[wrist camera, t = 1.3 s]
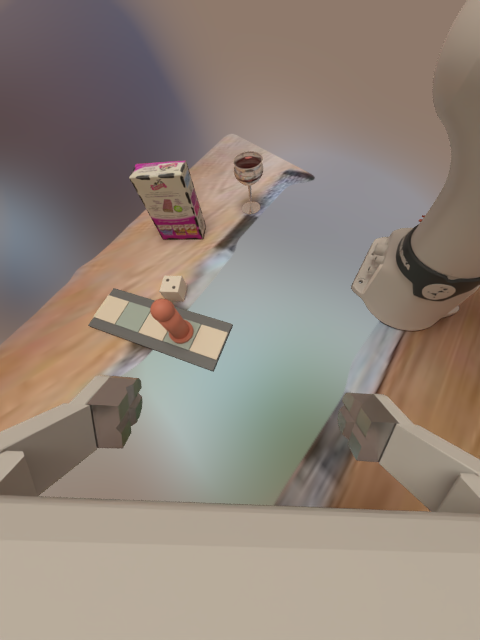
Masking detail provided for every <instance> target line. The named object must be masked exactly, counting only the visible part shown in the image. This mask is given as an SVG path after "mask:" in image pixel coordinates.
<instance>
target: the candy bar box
mask: <svg viewBox="0 0 480 640" xmlns="http://www.w3.org/2000/svg"><path fill="white" fill-rule="evenodd" d="M130 180H131V182H132V184H133V185H134V187H135V189H136V191H137V193H138V195H139V196H140V198H141V200H142V202H143V204H144V205H145V207H146V209H147V211H148V213H149V215H150V216H151V218H152V220H153V222H154V224H155V226H156V227H157V229H158V231H159V233H160V235H161V237H162V238H163V239H203V236H204V232H205V227H206V225H205V221H204V218H203V215H202V211H201V208H200V205H199V202H198V199H197V195H196V192H195V189H194V185H193V182H192V179H191V176H190V172H189V169H188V166H187V163H186V161H173V162H158V163H145V164H136V165H135V167H134V169H133V172H132V173H131V176H130Z"/></svg>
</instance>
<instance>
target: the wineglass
mask: <svg viewBox="0 0 480 640" xmlns="http://www.w3.org/2000/svg"><path fill="white" fill-rule="evenodd" d="M262 161H263V157H262V155H261V154H259V153H257V152H254V151H248V152H243V153H240V154H239V155H237V156H236V157H235V158H234V160H233V164H234V174H235V177H236V179H237V180H238V181H239V182H240V183H242V184H243V185H246V186H248V190H249V199H250V201H249V202H246V203H245V204H244V205H243V206H242V210H243V212H244V213H247V214H254V213H256V212H258V211H259V210H260V204H259V203H257V202H255V201H251V185H253V184H255V183H256V182H257V181H259V179H260V178H261V176H262V173H263V164H262Z"/></svg>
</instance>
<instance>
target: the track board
mask: <svg viewBox="0 0 480 640" xmlns="http://www.w3.org/2000/svg"><path fill="white" fill-rule="evenodd" d="M153 302H154V300H151V299H148V298H144V297H141V296H138V295H135V294H131V293H128V292H125V291H121V290H118V289H115V288H114V289H113V290H112V292H111V293H110V295H108V296H107V298H106V299H105V301H104V302H103V303H102V305H101V306H100V308H99V309H98V311H97V312H96V314H95V315H94V316H93V317H94V318H93V319H92V321H91V322H90V324H89V325H88V326H90V327H93V328H95V329H98V330H101V331H104V332H106V333H109V334H112V335H115V336H117V337H120V338H123V339H126V340H128V341H131V342H134V343H137V344H139V345H142V346H145V347H147V348H150V349H153V350H156V351H159V352H161V353H164V354H167V355H169V356H172V357H175V358H178V359H180V360H183V361H186V362H188V363H191V364H194V365H197V366H199V367H202V368H205V369H208V370H210V371H214V369H215V367H216V365H217V362H218V360H219V357H220V354H221V353H222V350H223V348H224V345H225V343H226V341H227V338H228V336H229V333H230V331H231V329H232V326H233V325H232V324H230V323H227V322H223V321H220V320H217V319H213V318H210V317H207V316H204V315H200V314H197V313H194V312H190V311H187V310H184V309H181V308H177V307H175V309H176V310H177V311H178V313H179V314H180V315H181V317H182V318H183V319H184V320H187V321H188V322H190V324H191V325H192V326H193V329H194V333H193V336H192V338H191V339H190V340H189V341H188V342H186V343H183V344H178V343H175V342H174V341H173V340H172V339H171V338H170V337H169V332H168V331H167V330H166V329H165V328H164V327H163V326H162V325H161V324H160V323H159V322H158V321H157V320H155V319H154V318H153V317H152V315H151V312H150V308H151V305H152V303H153Z"/></svg>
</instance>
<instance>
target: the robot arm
mask: <svg viewBox="0 0 480 640" xmlns="http://www.w3.org/2000/svg"><path fill="white" fill-rule="evenodd" d="M433 103H434V107H435V110H436V113H437V116H438V117H439V119H440V120H441V122H442V123H443V125H444V127H445V129H446V131H447V134H448V137H449V141H450V146H451V165H450V170H449V174H448V177H447V180H446V183H445V185H444V187H443V189H442V191H441V192H440V194H439V196H438V197H437V199H436V201H435V202H434V204H433V205H432V207H431V208H430V210H429V211H428V213H427V214H426V215H425V216H423V215H422V217H424V218H423V219H420V220H419V222H420V224H419V225H417V226H416V227H414V228H402V229H398V230H395V231H393V232H392V234H391V235H390V236H389V237H382V238H378V239H376V240H374V242H373V243H372V245H371V247H370V249H369V251H368V253H367V255H366V257H365V259H364V261H363V263H362V265H361V267H360V269H359V272H358V274H357V275H356V278H355V279H354V282H353V283H352V286H351V289H352V290H353V292H354V293H356V294H357V295H358V296H359V297H360V298H362V300H363V301H364V303H365V305H366V307H367V308H368V310H369V311H370V312H371V313H372V314H373V315H374V316H375V317H376V318H377V319H378V320H380V321H381V322H383V323H385V324H387V325H389V326H391V327H394V328H397V329H401V330H407V331H417V330H422V329H426V328H428V327H430V326H432V325H433V324H435V323H436V322H437V321H438V320H439V319H441V318H443V317H447V316H451V315H453V314H455V313H456V312H457V311H458V310H459V304H461V303H462V302H463V301H464V300H465V299H467V298H468V297H469V296H470V295H472V294H473V293H474V292H475V291H476V290H477V289H478V288H479V287H480V0H467V1H466V3H465V4H464V6H463V7H462V9H461V10H460V12H459V14H458V15H457V17H456V19H455V21H454V23H453V25H452V26H451V28H450V30H449V32H448V35H447V37H446V39H445V41H444V43H443V46H442V48H441V51H440V54H439V57H438V60H437V64H436V68H435V72H434V78H433ZM359 282H361V283H359ZM140 389H141V380H140V379H139V378H130V377H119V376H106V375H98V376H96V377H94V378H93V379H92V380H91V381H90V383H89V384H88V385H87V386H86V387H85V388H84V389H83V390H82V391H81V392H80V393H79V394H78V395H77V396H76V397H75V398H74V399H73V400H72V401H71V402H70V403H69V404H62V405H59V406H57V407H55V408H53V409H50V410H48V411H46V412H44V413H42V414H39V415H37V416H35V417H33V418H30V419H28V420H26V421H24V422H21V423H19V424H17V425H15V426H13V427H10V428H8V429H6V430H4V431H1V432H0V640H480V460H479V459H478V458H476V457H474V456H472V455H470V454H469V453H467V452H465V451H463V450H462V449H460V448H458V447H456V446H455V445H453V444H451V443H449V442H447V441H446V440H444V439H442V438H440V437H439V436H437V435H435V434H433V433H431V432H430V431H428V430H426V429H424V428H423V427H421V426H419V425H414V424H413V423H412V422H411V421H410V420H409V419H408V418H407V417H406V415H405V414H404V413H403V412H402V411H401V410H400V409H399V408H398V407H397V406H396V405H395V404H394V403H393V402H392V401H391V400H390V399H389V398H388V397H387V396H386V395H384V394H360V393H346V394H345V395H344V397H343V400H342V401H343V403H344V406H343V407H342V408H341V409H340V410H339V413H338V426H339V429H340V431H341V433H342V435H344V436H345V437H346V438H347V439H349V441H348V446H349V448H350V450H351V451H352V453H353V455H354V457H355V459H356V460H357V461H369V462H379V464H380V465H381V466H382V467H383V468H385V469H386V470H387V471H388V472H389V473H390V474H391V475H392V476H393V477H394V478H395V479H397V480H398V481H399V482H400V483H401V484H402V485H403V486H404V487H405V488H406V489H407V490H409V491H410V492H411V493H412V494H413V495H414V496H415V497H416V498H417V499H418V500H419V501H421V502H422V503H423V504H424V505H425V506H426V507H427V508H428V509H429V510H430V511H431V512H425V511H400V510H374V509H348V508H322V507H296V506H271V505H246V504H245V505H244V504H221V503H195V502H170V501H144V500H119V499H92V498H68V497H42V496H39V495H40V494H41V493H43V492H44V491H45V490H46V489H48V488H49V487H50V486H51V485H53V484H54V483H55V482H56V481H58V480H59V479H60V478H61V477H63V476H64V475H65V474H67V473H68V472H69V471H70V470H72V469H73V468H74V467H75V466H77V465H78V464H79V463H80V462H81V461H83V460H84V459H85V458H87V457H88V456H89V455H90V454H92V453H93V452H94V451H95V450H97V448H123V447H124V445H125V443H126V441H127V440H128V437H129V436H130V434H131V426H132V425H134V424H135V423H136V422H137V420H138V418H139V416H140V413H141V409H142V396H141V395H140V394H139V391H140Z"/></svg>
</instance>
